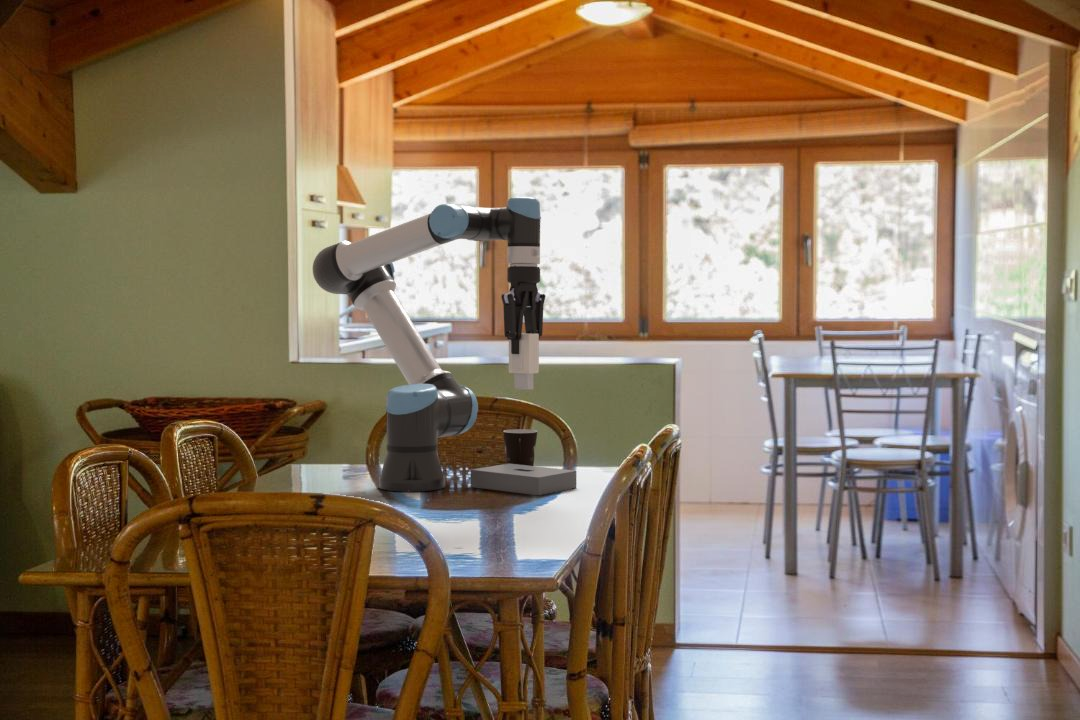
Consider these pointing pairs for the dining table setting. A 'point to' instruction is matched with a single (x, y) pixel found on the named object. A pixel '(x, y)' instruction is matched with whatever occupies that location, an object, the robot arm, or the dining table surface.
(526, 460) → the coffee mug
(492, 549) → the dining table surface
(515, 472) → the header
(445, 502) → the dining table surface
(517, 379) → the plug
